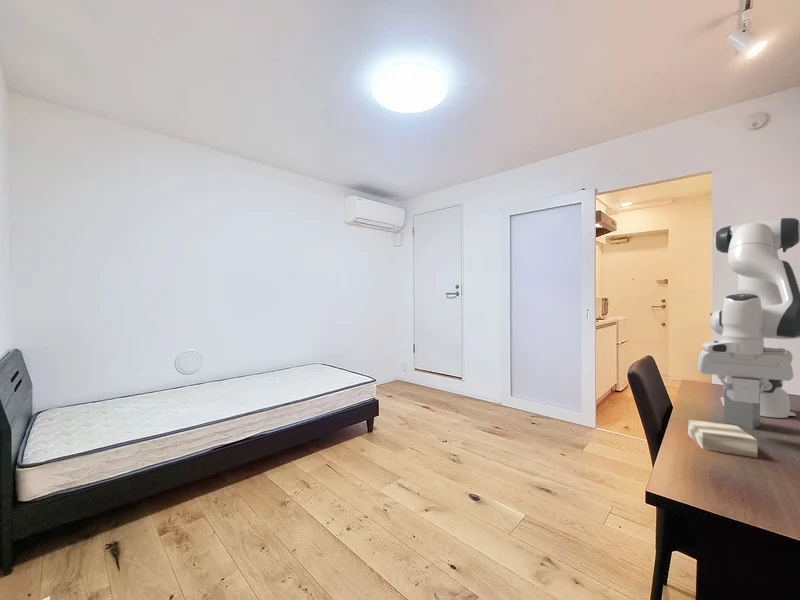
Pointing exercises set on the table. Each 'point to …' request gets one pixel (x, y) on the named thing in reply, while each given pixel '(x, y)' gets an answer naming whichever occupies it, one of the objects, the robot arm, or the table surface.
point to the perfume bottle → (741, 412)
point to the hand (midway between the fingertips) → (742, 391)
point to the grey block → (743, 389)
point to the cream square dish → (722, 438)
